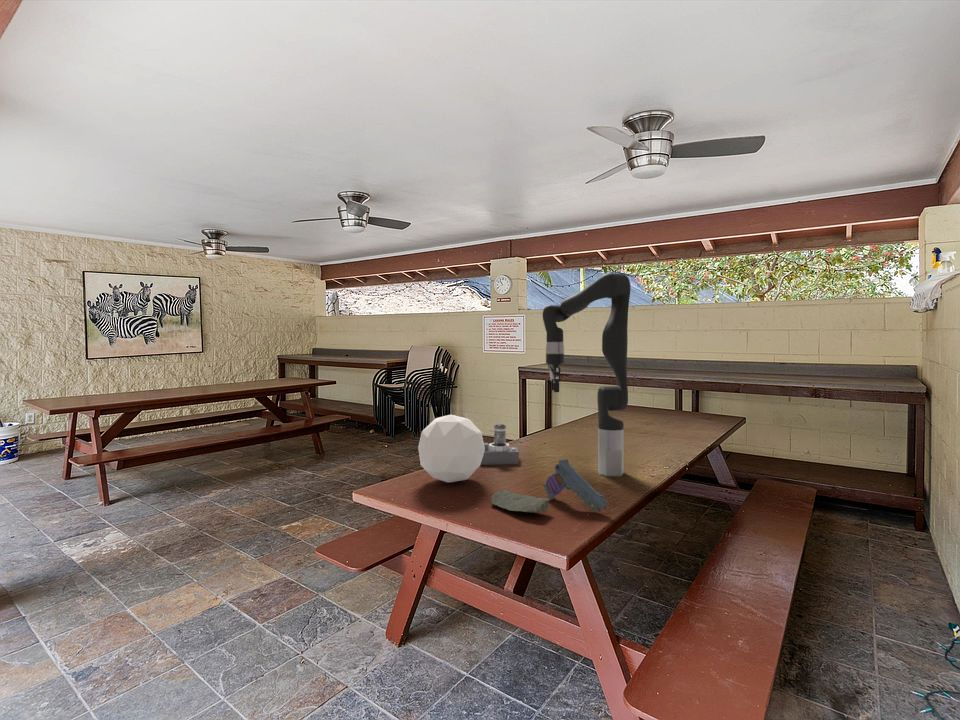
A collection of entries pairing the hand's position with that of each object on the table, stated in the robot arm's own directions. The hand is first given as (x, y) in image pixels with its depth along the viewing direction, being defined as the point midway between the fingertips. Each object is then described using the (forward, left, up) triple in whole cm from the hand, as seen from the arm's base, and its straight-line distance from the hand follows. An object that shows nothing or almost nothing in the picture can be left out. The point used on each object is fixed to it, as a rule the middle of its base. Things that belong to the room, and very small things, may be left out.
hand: (555, 391), depth 210 cm
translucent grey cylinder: (-3, +24, -24) cm, 34 cm away
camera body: (-3, +24, -30) cm, 38 cm away
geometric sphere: (-30, +42, -30) cm, 60 cm away
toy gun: (-52, +5, -33) cm, 62 cm away
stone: (-61, +23, -30) cm, 72 cm away
